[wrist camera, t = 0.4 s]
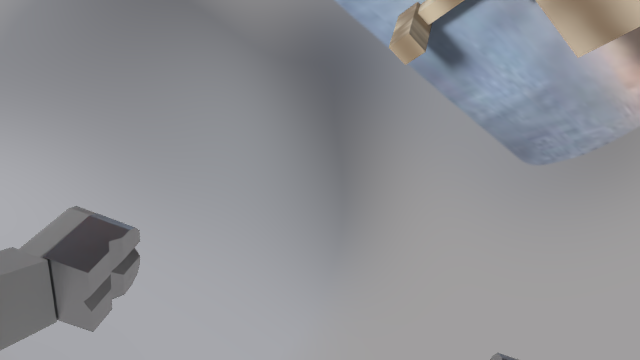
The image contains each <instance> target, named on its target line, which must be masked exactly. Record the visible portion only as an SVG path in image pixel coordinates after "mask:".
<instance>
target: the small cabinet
mask: <svg viewBox="0 0 640 360" xmlns="http://www.w3.org/2000/svg"><path fill="white" fill-rule="evenodd" d="M536 2H537V3H538V4H539V6H540V7H541V8H542V10H543V11H544V12H545V14H546V15H547V17H548V18H549V19H550V21H551V22H552V23H553V25H554V26H555V27H556V29H557V30H558V32H559V33H560V34H561V36H562V37H563V38H564V40H565V41H566V42H567V44H568V45H569V47H570V48H571V49H572V51H573V52H574V53H575V55H576V56H577V57H578V58H579V57H581V56H583V55H585V54H587V53H589V52H591V51H593V50H595V49H596V48H598V47H600V46H602V45H604V44H606V43H608V42H610V41H612V40H614V39H616V38H618V37H620V36H622V35H624V34H626V33H628V32H630V31H632V30H634V29H636V28H638V27H640V0H536Z"/></svg>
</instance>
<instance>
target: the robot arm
mask: <svg viewBox="0 0 640 360" xmlns="http://www.w3.org/2000/svg"><path fill="white" fill-rule="evenodd" d="M139 242H140V233H139V230H138V229H136V228H135V227H132V226H129V225H127V224H124V223H122V222H119V221H116V220H113V219H111V218H108V217H106V216H103V215H100V214H97V213H94V212H91V211H88V210H86V209H83V208H80V207H78V206H75V207H72V208H69V209H67V210H66V211H65V212H64V213H62V214H61V215H60V216H59V217H58V218H56V219H55V220H54V221H53V222H51V223H50V224H49V225H48V226H47V227H45V228H44V229H43V230H42V231H40V232H39V233H38V234H37V235H35V236H34V237H33V238H32V239H31V240H29V241H28V242H27V243H26V244H24V245H23V246H22V247H21V248H20V249H16V248H13V247H12V248H8V249H5V250H2V251H0V350H2V349H4V348H6V347H8V346H10V345H12V344H14V343H16V342H18V341H20V340H22V339H24V338H26V337H28V336H29V335H32V334H34V333H36V332H38V331H40V330H42V329H43V328H46V327H48V326H50V325H51V324H54V323H55V322H56V321H57V320H59V321H63V322H65V323H68V324H71V325H74V326H77V327H80V328H83V329H86V330H89V331H92V332H93V331H94V330H95V329H96V328H97V327H98V326H99V324H100V323H101V322H102V321H103V319H104V318H105V317H106V316H107V315H108V313H109V312H110V311H111V310H112V299H114V298H117V297H119V296H122V295H124V294H125V293H126V291H127V290H128V289H129V288H130V286H131V285H132V283H133V281H134V279H135V277H136V275H137V273H138V269H139V265H140V255H139V254H138V252H137V251H136V249H135V248H134V247H135V246H136V245H137V244H138V243H139ZM490 360H518V359H515V358H512V357H509V356H506V355H503V354H500V353H497V354H495V355H494V356H493V357H492V358H491V359H490Z"/></svg>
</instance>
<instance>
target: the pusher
mask: <svg viewBox="0 0 640 360" xmlns="http://www.w3.org/2000/svg"><path fill="white" fill-rule="evenodd" d="M463 1H464V0H426V1H425V2H423V3H422V4H421V5H420V4H419V3H418V2H417V3H415V4H414V5H413V6H411V7H410V8H409V9H407V10H406V11H405V12H403V13H402V14H401V15H399V16H398V20H397V23H396V26H395V29H394V32H393V36H392V39H391V42H390V45H389V48H390V49H391V50H392V51H393V52H394V53H395V55H396V56H397V57H398V58H399V59H400V60H401V61H402V62H403V63H404V64H405V65H406V64H408V63H409V62H411V61H412V60H414V59H415V58H417V57H418V56H420V55H421V54H423V53H425V52H426V48H427V43H428V39H429V34H430V30H431V26H432V22H434V21H435V20H437V19H438V18H440V17H441V16H442V15H444V14H445V13H447V12H448V11H450V10H451V9H453V8H454V7H456V6H457V5H458V4H460V3H461V2H463Z"/></svg>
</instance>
